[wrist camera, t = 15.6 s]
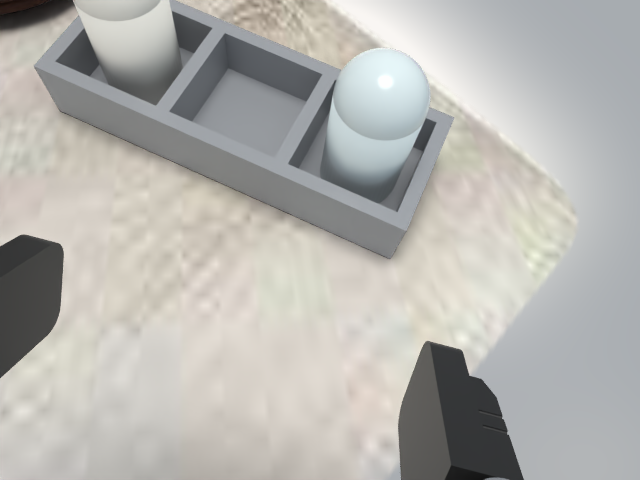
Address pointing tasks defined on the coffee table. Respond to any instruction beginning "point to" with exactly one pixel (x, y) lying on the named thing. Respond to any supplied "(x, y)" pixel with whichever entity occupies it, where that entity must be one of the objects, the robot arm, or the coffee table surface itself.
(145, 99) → the white cylinder
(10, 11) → the wooden spool stand
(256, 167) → the tray
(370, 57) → the pale blue dome-topped cylinder
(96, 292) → the coffee table surface
